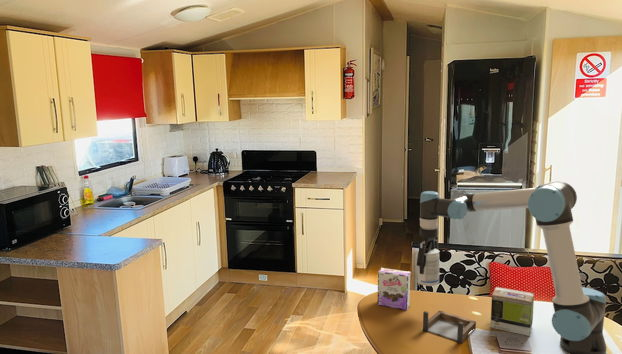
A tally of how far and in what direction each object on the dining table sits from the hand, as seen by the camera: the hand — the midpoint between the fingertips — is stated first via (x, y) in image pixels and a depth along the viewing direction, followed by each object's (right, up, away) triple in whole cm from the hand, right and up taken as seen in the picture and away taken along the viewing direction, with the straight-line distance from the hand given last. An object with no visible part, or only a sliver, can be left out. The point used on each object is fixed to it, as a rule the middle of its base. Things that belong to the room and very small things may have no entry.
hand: (427, 276), depth 207 cm
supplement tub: (0, -3, 0) cm, 3 cm away
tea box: (+31, -18, -12) cm, 38 cm away
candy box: (-14, -15, +9) cm, 22 cm away
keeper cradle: (+5, -19, -14) cm, 24 cm away
